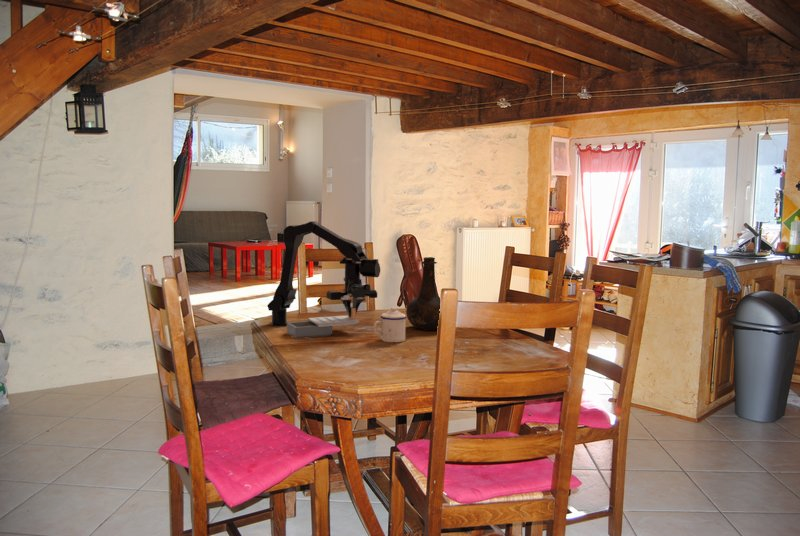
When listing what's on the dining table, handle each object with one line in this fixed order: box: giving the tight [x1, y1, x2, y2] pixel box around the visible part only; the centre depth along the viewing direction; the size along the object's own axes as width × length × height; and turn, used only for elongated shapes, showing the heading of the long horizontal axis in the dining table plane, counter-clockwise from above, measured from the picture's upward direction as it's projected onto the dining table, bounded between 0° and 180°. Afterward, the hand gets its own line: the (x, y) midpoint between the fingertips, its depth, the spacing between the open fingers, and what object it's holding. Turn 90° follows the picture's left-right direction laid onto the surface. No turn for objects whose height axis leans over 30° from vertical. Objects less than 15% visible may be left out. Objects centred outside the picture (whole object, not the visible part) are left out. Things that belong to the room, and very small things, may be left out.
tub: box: [286, 320, 333, 339], centre depth 234 cm, size 10×14×4 cm
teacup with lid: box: [373, 307, 407, 343], centre depth 227 cm, size 12×9×12 cm
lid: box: [307, 306, 360, 327], centre depth 238 cm, size 12×16×5 cm
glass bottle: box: [405, 256, 441, 331], centre depth 249 cm, size 18×18×28 cm
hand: (351, 316), depth 242 cm, fingers closed on lid
